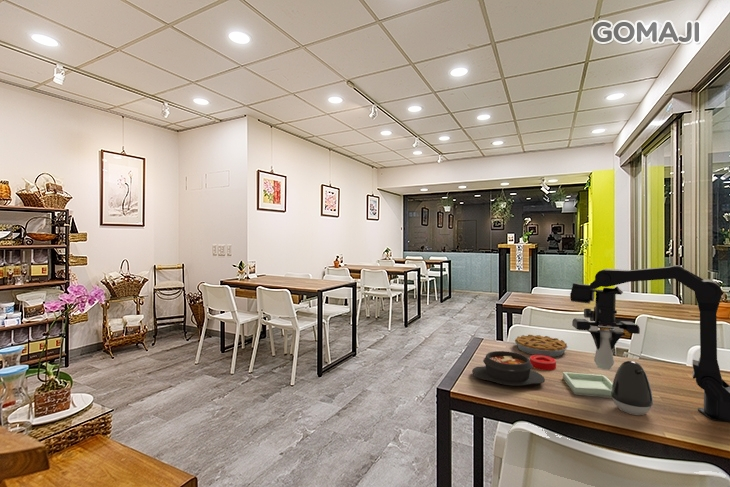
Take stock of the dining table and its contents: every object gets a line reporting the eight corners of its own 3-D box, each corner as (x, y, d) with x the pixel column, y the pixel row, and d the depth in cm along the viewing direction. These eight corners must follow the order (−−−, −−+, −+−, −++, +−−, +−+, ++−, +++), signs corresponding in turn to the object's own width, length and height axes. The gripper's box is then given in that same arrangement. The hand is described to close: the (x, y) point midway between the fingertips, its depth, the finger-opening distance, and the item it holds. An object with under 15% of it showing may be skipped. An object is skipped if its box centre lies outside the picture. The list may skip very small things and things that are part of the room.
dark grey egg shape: (621, 418, 104) (622, 366, 104) (604, 401, 114) (605, 354, 114) (661, 421, 102) (662, 368, 102) (640, 404, 112) (641, 356, 112)
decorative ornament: (549, 362, 150) (549, 355, 150) (560, 371, 140) (560, 363, 140) (526, 361, 151) (526, 354, 151) (534, 370, 141) (534, 362, 141)
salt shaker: (617, 371, 120) (617, 333, 120) (598, 370, 121) (598, 332, 121) (609, 365, 126) (609, 328, 125) (591, 363, 127) (591, 327, 127)
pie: (528, 340, 181) (528, 330, 181) (575, 350, 164) (575, 340, 164) (506, 349, 167) (506, 338, 167) (555, 362, 150) (555, 350, 150)
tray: (621, 398, 116) (621, 391, 116) (575, 394, 119) (575, 387, 119) (604, 381, 129) (604, 375, 129) (562, 378, 133) (562, 372, 133)
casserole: (474, 387, 125) (474, 363, 125) (470, 368, 144) (470, 347, 143) (551, 393, 120) (551, 369, 120) (537, 372, 138) (537, 351, 138)
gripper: (625, 302, 128) (624, 345, 129) (568, 299, 133) (567, 341, 134) (641, 309, 118) (639, 355, 118) (577, 305, 122) (576, 350, 123)
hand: (604, 350), depth 123 cm, fingers closed on salt shaker, 3 cm apart
